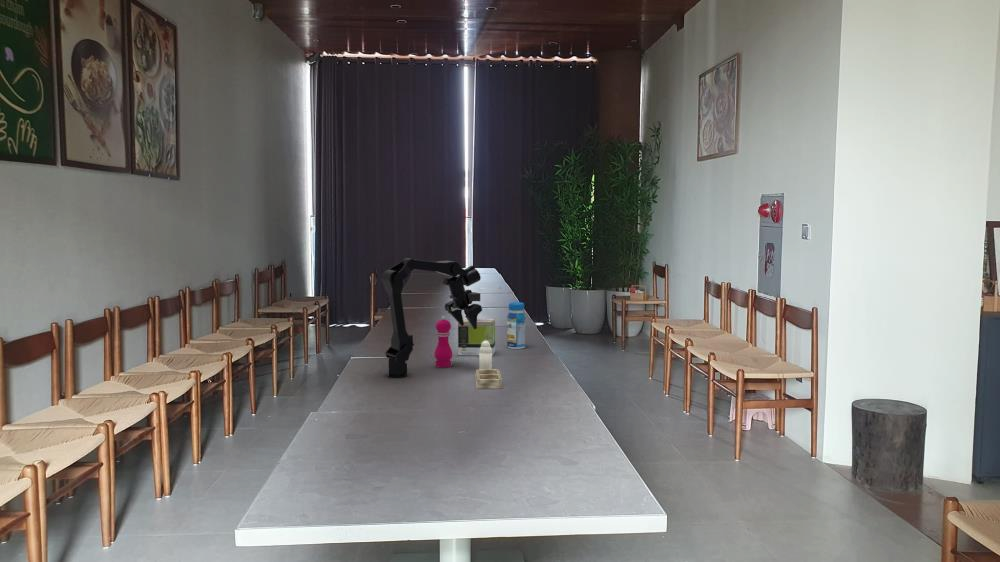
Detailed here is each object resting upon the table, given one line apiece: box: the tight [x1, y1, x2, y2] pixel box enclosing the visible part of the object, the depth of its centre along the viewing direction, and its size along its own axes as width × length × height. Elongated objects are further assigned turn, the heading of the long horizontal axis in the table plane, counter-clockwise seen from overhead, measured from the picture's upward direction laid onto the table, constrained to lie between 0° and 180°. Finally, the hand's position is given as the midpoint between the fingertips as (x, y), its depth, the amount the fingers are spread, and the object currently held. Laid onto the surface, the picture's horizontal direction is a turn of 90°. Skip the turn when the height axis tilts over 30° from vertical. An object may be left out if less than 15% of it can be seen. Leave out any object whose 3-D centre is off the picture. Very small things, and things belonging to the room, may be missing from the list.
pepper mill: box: [433, 315, 453, 368], centre depth 297 cm, size 7×7×20 cm
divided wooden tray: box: [474, 368, 504, 390], centre depth 271 cm, size 9×17×3 cm, turn 4°
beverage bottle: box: [506, 301, 527, 350], centre depth 335 cm, size 8×8×20 cm
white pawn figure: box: [478, 341, 493, 369], centre depth 283 cm, size 5×5×13 cm
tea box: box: [457, 318, 496, 357], centre depth 321 cm, size 15×10×15 cm, turn 84°
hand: (468, 327), depth 298 cm, fingers open, 9 cm apart
